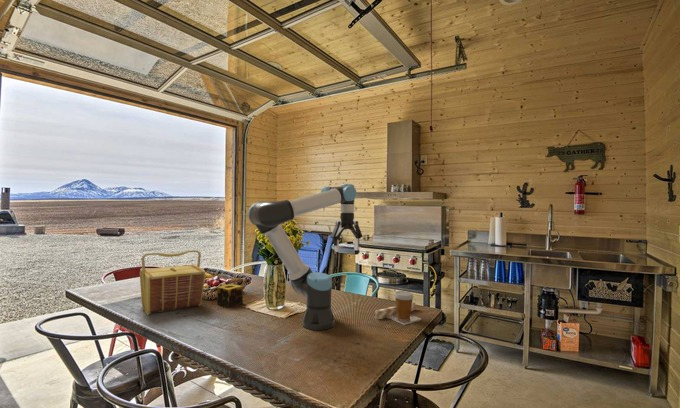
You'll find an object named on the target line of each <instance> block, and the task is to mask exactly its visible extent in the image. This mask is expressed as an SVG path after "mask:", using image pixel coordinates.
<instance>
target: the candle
mask: <svg viewBox="0 0 680 408" xmlns="http://www.w3.org/2000/svg"><path fill="white" fill-rule="evenodd" d="M243 289H244V287H243V285H239V284H234V283H229V284H225V285H221V286H220V285H219V286H217V288H216V291H217V293H216V297H217V299H216V305H219V306H221V307H225V308H231V307H235V306H237V305H242V304H243V303H244V301H243V300H244V297H243Z"/></svg>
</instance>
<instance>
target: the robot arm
mask: <svg viewBox="0 0 680 408" xmlns="http://www.w3.org/2000/svg"><path fill="white" fill-rule="evenodd" d="M357 193H358V192H357V190H356V188H355V185H354V184H351V183H344V184H343V183H341V185H340V186H323V187H322V188H321V191H320V192H318V193H314V194H310V195H307V196H303V197H300V198H296V199H293V200H289V199H284V200H278V201H276V200H275V201H274V200H273V201H269V200H268V201H264V200H260V201H257V202H254V203H252V204H251V206H250V207H249V209H248V212H247V217H248V220H249V222H250V223H251V224H252V225H254V226H255V227H256V229H257V230H258V231H259V233H260V234H261V235H263V236H264V235H265V236H266V238H267V240H268V241H269V243H270V245H271V246H272V248H273V250H274V251H275V252H276V254H277V256H278V257H279V259H280V260H281V262H282V265H284V267H285V269H286V270H287V272H288V279H289V281H290V285H291V288H292V290H293V291H294V292H295V293H297V294H298V295H299V294H300V295H302V296H303V297H305V298H306V308H305V312H304V315H303V317H302V327H303V328H305V329H308V330H313V331H324V330H329V329H331V328H333V327H334V326H335V317H334V312H333V311H332V310H333V309H332V287H333V284H332V283H333V282H332V281H333V280H332V278H331V276H330V275H329V274H327V273H324V272H323V273H322V272H319V271H317V272H315V271H314V272H313V270H312V269H311V267H310V265H309V264H306V263H304V261H303V259H302V258H301V256H300V254H299V253H298V251H297V250H296V248H295V246H294V245H293V242H292V241H291V240H290V238H289V236H288V235H287V233H286V232H285V230H284V228H283V227H282V226H283V225H282V224H285V223H288V222H290V221H293V220H295V218H296V217H299V216H302V215H305V214H309V213H312V212H314V211H315V212H316V211H318V210H321V209H324V208H327V207H328V208H329V207H331V206H334V205H338V204H340V220H336V221H335V225H334V228H333V230H332V232H331V235H330V239H332V240H333V246H334V252H336V253H339V248H340V247H339V245H340V244H339V242H340V241H339V238H340V236H341V235H342V233H343V232H344V231H345V230H350V231H351V233H352V235H353V236H354V240H353V241H354V242H353V243H354V245H353V249H354V251H359V245H360V239H361V238H363V234H362V231H361V229H360V226H359V221H358V220H355V213H354V212H355V199H356V198H357Z"/></svg>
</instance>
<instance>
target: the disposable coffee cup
mask: <svg viewBox="0 0 680 408" xmlns="http://www.w3.org/2000/svg"><path fill="white" fill-rule="evenodd" d="M394 298H395V306H396V309H397V317H398V318H400V319H409V318H410V315H412V313H411V312H412V311H411V307H412V302H413V299H414V295H413V292H409V291H407V290H406V291H404V290H403V291H402V290H400V291H399V290H398V291H395V293H394Z"/></svg>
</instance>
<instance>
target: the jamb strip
mask: <svg viewBox="0 0 680 408" xmlns="http://www.w3.org/2000/svg"><path fill="white" fill-rule="evenodd" d="M413 311H416V302H415V301H412V307H411V312H413ZM394 314H397V309H396V305H394V306H389V307H385V308H381V309H377V310H374V319H375V320H383V319H385V318H387V316H390V315H394Z"/></svg>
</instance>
